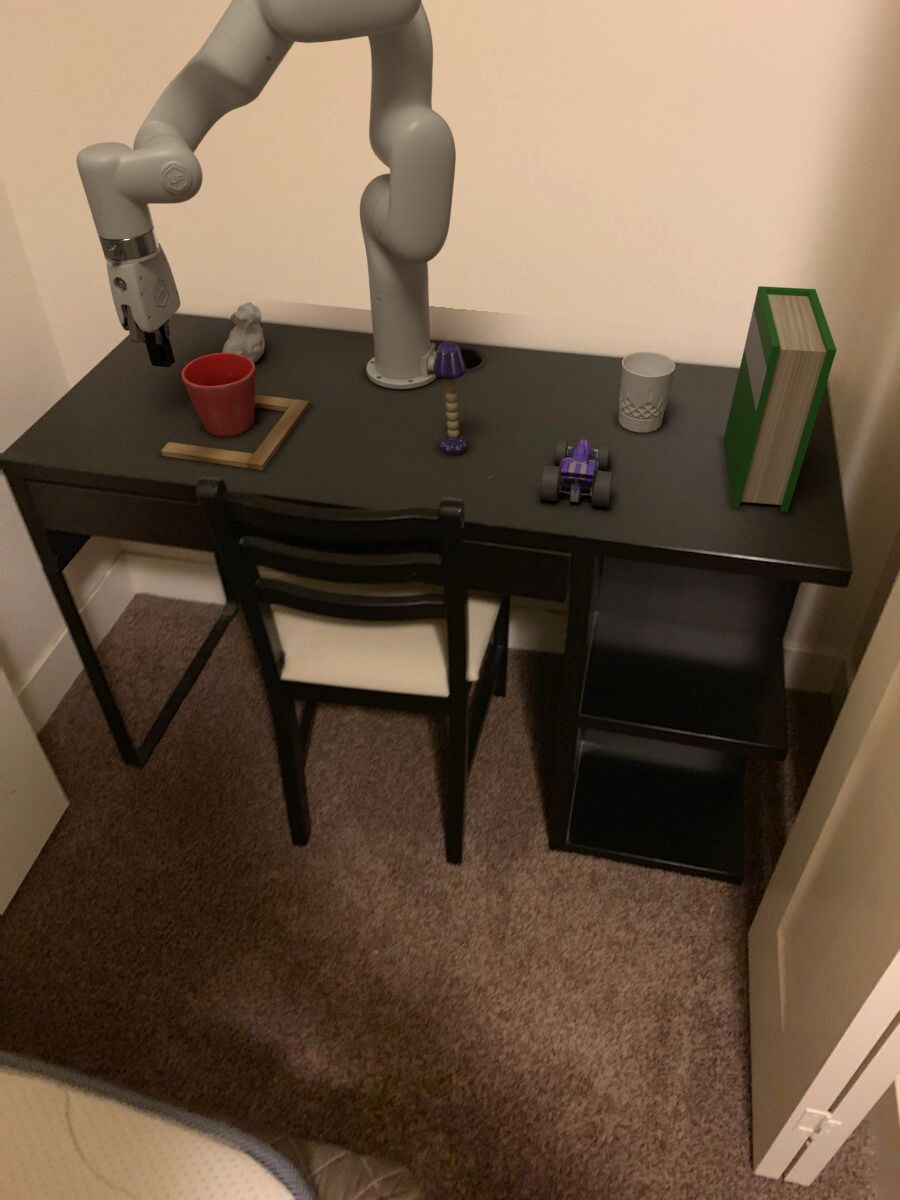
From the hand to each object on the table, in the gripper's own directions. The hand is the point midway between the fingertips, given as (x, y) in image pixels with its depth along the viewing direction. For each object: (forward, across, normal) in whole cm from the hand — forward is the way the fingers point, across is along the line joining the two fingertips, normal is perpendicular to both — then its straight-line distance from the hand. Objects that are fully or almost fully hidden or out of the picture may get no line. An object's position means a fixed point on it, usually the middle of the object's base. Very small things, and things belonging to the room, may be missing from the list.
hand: (163, 363), depth 136 cm
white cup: (+12, +16, -71) cm, 74 cm away
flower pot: (+10, +1, -8) cm, 13 cm away
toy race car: (+12, -2, -64) cm, 65 cm away
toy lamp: (+11, +2, -44) cm, 46 cm away
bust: (+10, +21, -2) cm, 24 cm away
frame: (+10, -1, -11) cm, 15 cm away
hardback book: (+12, +6, -89) cm, 90 cm away
